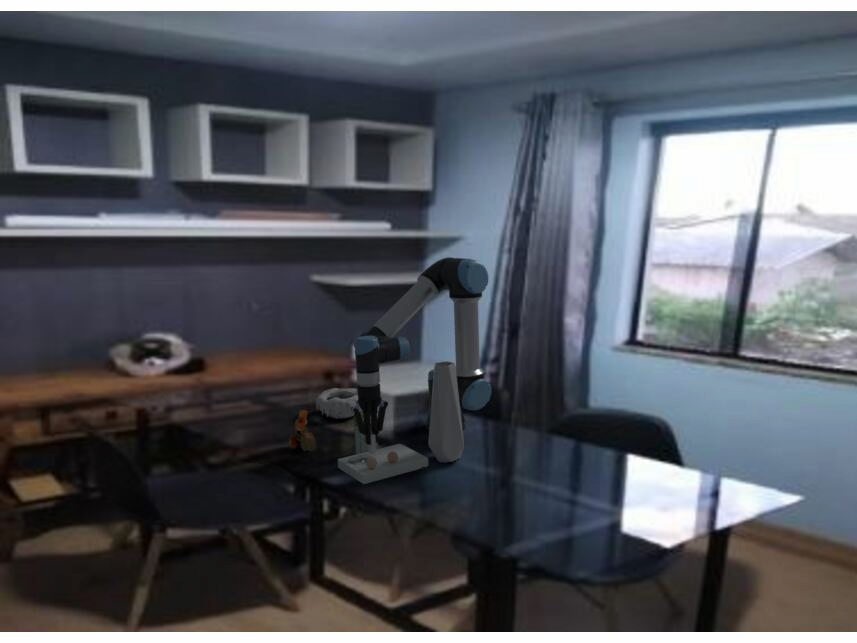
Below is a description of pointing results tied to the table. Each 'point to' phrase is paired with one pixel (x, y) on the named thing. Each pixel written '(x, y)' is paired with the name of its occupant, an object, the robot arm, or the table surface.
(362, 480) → the white tray
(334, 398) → the bowl
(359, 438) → the ink box
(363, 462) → the steel ball
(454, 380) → the vase
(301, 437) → the toy helicopter
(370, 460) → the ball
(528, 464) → the table surface
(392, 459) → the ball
